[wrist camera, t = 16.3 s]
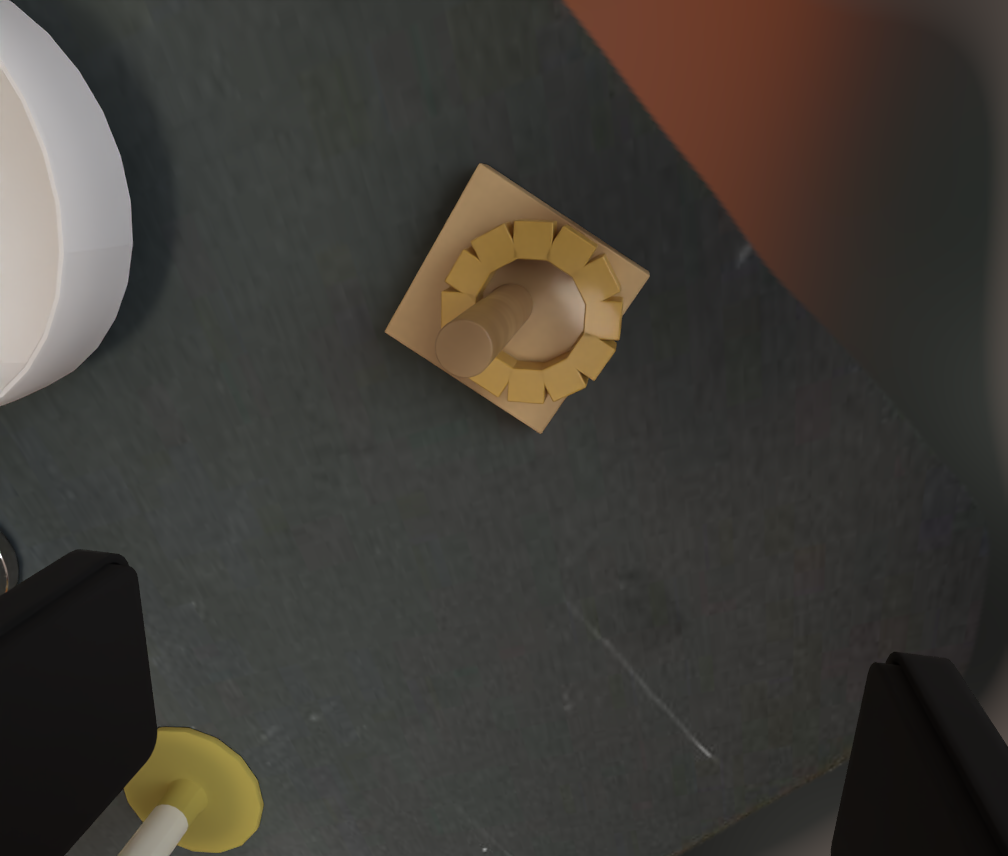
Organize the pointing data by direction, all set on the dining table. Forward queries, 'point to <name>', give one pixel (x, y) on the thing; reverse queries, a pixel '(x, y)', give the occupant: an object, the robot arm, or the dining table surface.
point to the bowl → (54, 212)
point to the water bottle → (7, 565)
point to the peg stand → (501, 296)
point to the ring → (591, 281)
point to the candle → (192, 796)
